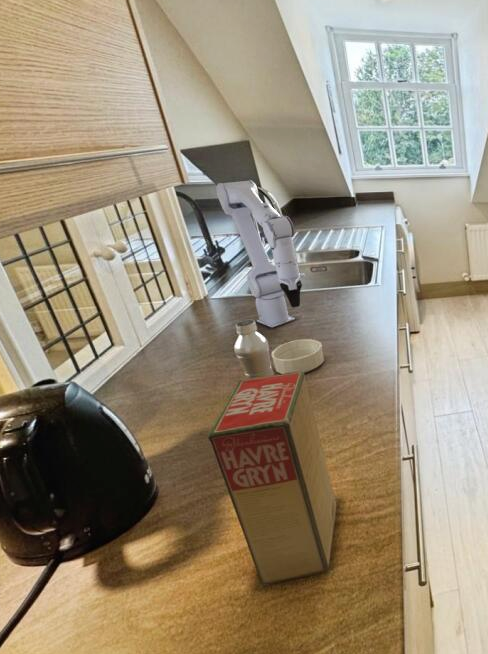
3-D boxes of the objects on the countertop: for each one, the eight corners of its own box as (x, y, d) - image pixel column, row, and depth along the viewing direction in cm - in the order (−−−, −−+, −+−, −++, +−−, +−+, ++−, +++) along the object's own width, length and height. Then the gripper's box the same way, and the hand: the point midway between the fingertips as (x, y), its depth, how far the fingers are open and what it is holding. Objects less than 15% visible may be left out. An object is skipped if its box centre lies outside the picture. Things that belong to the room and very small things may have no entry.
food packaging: (277, 512, 73) (237, 377, 63) (338, 501, 75) (308, 368, 65) (257, 588, 61) (203, 435, 51) (330, 571, 63) (292, 422, 53)
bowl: (266, 368, 118) (262, 352, 116) (307, 350, 127) (304, 335, 125) (292, 380, 111) (288, 364, 109) (333, 361, 120) (330, 346, 118)
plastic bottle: (289, 399, 104) (269, 319, 96) (265, 415, 98) (241, 331, 90) (270, 393, 106) (248, 314, 98) (244, 408, 100) (220, 326, 93)
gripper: (304, 265, 123) (313, 311, 128) (297, 253, 135) (306, 296, 140) (275, 269, 120) (286, 316, 125) (272, 257, 132) (282, 300, 137)
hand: (295, 306), depth 132 cm, fingers closed
